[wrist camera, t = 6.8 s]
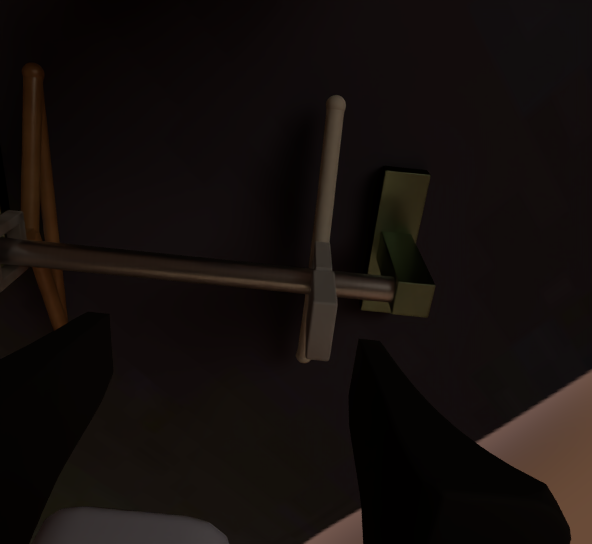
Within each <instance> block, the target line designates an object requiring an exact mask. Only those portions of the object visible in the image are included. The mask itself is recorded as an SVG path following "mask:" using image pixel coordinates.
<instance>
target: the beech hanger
mask: <svg viewBox="0 0 592 544" xmlns="http://www.w3.org/2000/svg"><path fill="white" fill-rule="evenodd" d="M22 75H23V111H22V161H21V211H13V210H8V211H6V212H4V213H3V214H1V215H0V237H1V236H2V235H4V234H5V233H6V235H7V238H15V239H25V240H35V241H42V238H41V235H40V232H39V218H40V205H41V213H42V221H43V230H44V238H45V242H55V243H60V241H59V232H58V222H57V213H56V204H55V194H54V185H53V175H52V166H51V156H50V147H49V138H48V128H47V119H46V109H45V100H44V90H43V79H44V76H45V74H44V70H43V69H42V67H41V66H40V65H38V64H36V63H33V62H30V63H27V64H25V65H24V66H23V68H22ZM28 268H29V266H19V265H9V264H6V265H4V266H3V267H2V268H1V265H0V292H2V291H3V290H4V289H5V288H6V287H7V286H9V285H10V284H11V283H12V282H13V281H14V280H15V279H17V278H18V277H19V276H20V275H21V274H22V273H24V272H25V271H26V270H27V269H28ZM32 269H33V272H34V274H35V277H36V280H37V283H38V286H39V289H40V292H41V295H42V298H43V301H44V304H45V306H46V309H47V312H48V315H49V318H50V321H51V324H52V327H53V330H56V329H58V328H60V327H61V326H63V325H65V324H67V323H68V317H67V307H66V298H65V288H64V279H63V270H59V269H49V268H39V267H32Z"/></svg>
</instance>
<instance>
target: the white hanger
mask: <svg viewBox="0 0 592 544" xmlns="http://www.w3.org/2000/svg"><path fill="white" fill-rule="evenodd" d="M345 108H346V103H345V100H344V99H343V98H342V97H341V96H339V95H334V96H331V97H330V98H329V99H328V100H327V102H326V120H325V129H324V138H323V147H322V157H321V166H320V175H319V185H318V194H317V203H316V211H315V219H314V227H313V236H312V244H311V252H310V260H309V268H312V269H314V270H313V271H312V277H311V285H310V293H309V294H305V301H304V309H303V316H302V323H301V330H300V337H299V344H298V350H297V352H296V358H297V360H298V361H299V362H301V363H307V362H309V361H310V360H321V361H328V360H329V358H330V352H331V345H332V339H333V332H334V326H335V319H336V313H337V306H338V304H337V294H336V283H335V274H334V272H332V261H331V249H330V243H329V240H330V231H331V222H332V214H333V205H334V196H335V187H336V178H337V169H338V160H339V152H340V143H341V134H342V125H343V116H344V111H345Z"/></svg>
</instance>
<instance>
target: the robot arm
mask: <svg viewBox="0 0 592 544" xmlns="http://www.w3.org/2000/svg"><path fill="white" fill-rule="evenodd" d="M112 374H113V361H112V346H111V332H110V317H109V314H105V313H95V312H87V313H85V314H83V315H81V316H79V317H77V318H75V319H74V320H72V321H70V322H68V323H67V324H65V325H63V326H61V327H60V328H58V329H56V330H54V331H53V332H51V333H49V334H47V335H46V336H44V337H42V338H40V339H39V340H37V341H35V342H33V343H31V344H30V345H28V346H26V347H24V348H22V349H20V350H18V351H16V352H14V353H12V354H10V355H8V356H6V357H4V358H2V359H0V544H29V542H30V540H31V538H32V535H33V533H34V530H35V528H36V526H37V523H38V521H39V519H40V516H41V514H42V511H43V509H44V507H45V505H46V503H47V500H48V498H49V496H50V494H51V491H52V489H53V487H54V485H55V482H56V480H57V478H58V476H59V474H60V473H61V471H62V469H63V467H64V465H65V463H66V462H67V460H68V458H69V457H70V455H71V453H72V451H73V450H74V448H75V446H76V445H77V443H78V441H79V440H80V438H81V436H82V434H83V433H84V431H85V429H86V428H87V426H88V424H89V423H90V421H91V419H92V417H93V416H94V414H95V412H96V410H97V409H98V407H99V405H100V403H101V401H102V399H103V397H104V394H105V392H106V390H107V387H108V385H109V382H110V379H111V377H112ZM349 427H350V433H351V440H352V447H353V453H354V459H355V466H356V472H357V478H358V485H359V491H360V499H361V508H362V527H363V544H570V541H571V535H570V527H569V525H568V523H567V521H566V519H565V517H564V515H563V513H562V511H561V510H560V507H559V505H558V503H557V501H556V500H555V498H554V496H553V495H552V493H551V492H550V490H549V488H548V486H547V485H546V484H545V483H543V482H541V481H539V480H537V479H535V478H533V477H531V476H529V475H527V474H526V473H524V472H522V471H520V470H518V469H516V468H514V467H512V466H511V465H509V464H507V463H506V462H504V461H503V460H501V459H499V458H498V457H496V456H494V455H493V454H491V453H489V452H488V451H487V450H485V449H484V448H482V447H481V446H479V445H478V444H477V443H475V442H474V441H473V440H471V439H470V438H469V437H467V436H466V435H465V434H463V433H462V432H461V431H460V430H458V429H457V428H456V427H455V426H453V425H452V424H451V423H450V422H449V421H448V420H447V419H446V418H444V417H443V416H442V415H441V414H440V413H439V412H438V411H437V410H436V409H435V408H434V407H433V406H432V405H431V404H430V403H429V402H428V401H427V400H426V399H425V398H424V397H423V396H422V395H421V394H420V393H419V391H418V390H417V389H416V388H415V387H414V386H413V384H412V383H411V382H410V381H409V379H408V378H407V377H406V376H405V375H404V373H403V372H402V371H401V369H400V368H399V367H398V365H397V364H396V363H395V361H394V360H393V358H392V357H391V356H390V354H389V353H388V351H387V350H386V349H385V347H384V346H383V345H382V343H381V342H380V341H375V340H365V339H359V340H358V346H357V351H356V357H355V363H354V368H353V374H352V379H351V385H350V391H349ZM32 544H229V542H228V539H227V536H226V535H224V534H223V533H222V532H221V531H220V530H218V529H217V528H216V527H215V526H213V525H212V524H211V523H210V522H208V521H204V520H201V519H197V518H194V517H190V516H184V515H173V514H163V513H152V512H142V511H131V510H121V509H110V508H100V507H89V506H83V507H72V508H63V509H60V510H58V511H57V512H55V513H54V514H52V515H51V516H49V517H48V518H46V519H45V521H44V523H43V524H42V526H41V528H40V530H39V532H38V534H37V536H36V537H35V539H34V541H33V543H32Z"/></svg>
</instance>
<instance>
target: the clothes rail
mask: <svg viewBox="0 0 592 544" xmlns="http://www.w3.org/2000/svg"><path fill="white" fill-rule="evenodd" d="M430 177H431V175H430V174H429V172H428V171H427V170H418V169H409V168H399V167H390V166H383V169H382V175H381V181H380V186H379V192H378V198H377V204H376V209H375V215H374V221H373V227H372V232H371V238H370V244H369V250H368V255H367V261H366V267H365V273H364V274H362V273H352V272H342V271H332V272H334V274H335V283H336V294H337V297H339V298H349V299H359V300H360V302H359V303H360V309H361V310H364V311H374V312H384V313H392V314H396V315H406V316H416V317H426V318H427V317H428V315H429V311H430V306H431V302H432V298H433V294H434V290H435V284H434V281H433V279H432V277H431V275H430V273H429V271H428V269H427V267H426V265H425V262H424V260H423V258H422V256H421V254H420V252H419V250H418V248H417V246H416V241H417V237H418V232H419V228H420V223H421V218H422V214H423V209H424V204H425V200H426V195H427V190H428V186H429V181H430ZM8 210H10V209H9V202H8V195H7V188H6V181H5V175H4V168H3V161H2V154H1V147H0V215H1V214H3V213H4V212H6V211H8ZM6 264H9V265H19V266H29V267H39V268H49V269H59V270H69V271H79V272H89V273H99V274H109V275H119V276H129V277H139V278H149V279H159V280H169V281H179V282H189V283H199V284H209V285H219V286H229V287H239V288H249V289H259V290H269V291H279V292H289V293H299V294H309V293H310V285H311V277H312V271H313V270H314V269H312V268H302V267H292V266H282V265H273V264H263V263H253V262H243V261H233V260H223V259H213V258H203V257H193V256H183V255H173V254H164V253H154V252H144V251H134V250H124V249H114V248H104V247H94V246H84V245H74V244H64V243H55V242H45V241H35V240H25V239H15V238H7V235H6V233H5V234H4V235H2V236H1V237H0V265H1V268H2V267H3V266H4V265H6Z"/></svg>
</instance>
